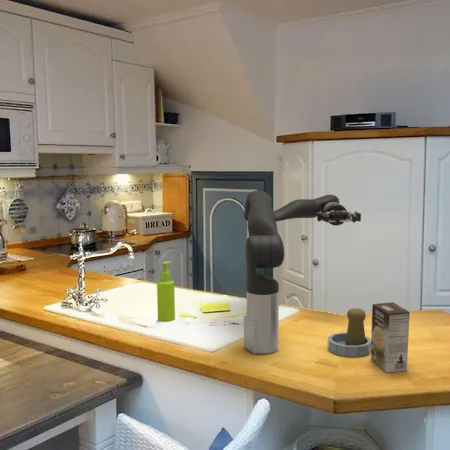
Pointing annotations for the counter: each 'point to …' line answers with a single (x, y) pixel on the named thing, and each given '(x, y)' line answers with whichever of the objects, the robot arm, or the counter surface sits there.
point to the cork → (355, 327)
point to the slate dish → (339, 348)
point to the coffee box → (390, 337)
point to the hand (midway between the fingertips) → (341, 219)
